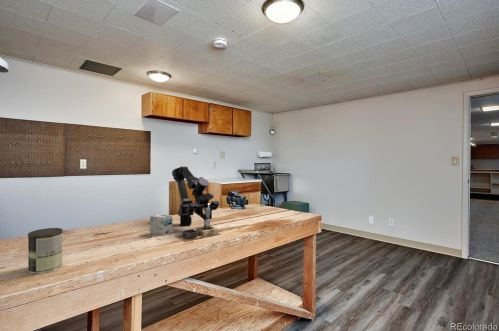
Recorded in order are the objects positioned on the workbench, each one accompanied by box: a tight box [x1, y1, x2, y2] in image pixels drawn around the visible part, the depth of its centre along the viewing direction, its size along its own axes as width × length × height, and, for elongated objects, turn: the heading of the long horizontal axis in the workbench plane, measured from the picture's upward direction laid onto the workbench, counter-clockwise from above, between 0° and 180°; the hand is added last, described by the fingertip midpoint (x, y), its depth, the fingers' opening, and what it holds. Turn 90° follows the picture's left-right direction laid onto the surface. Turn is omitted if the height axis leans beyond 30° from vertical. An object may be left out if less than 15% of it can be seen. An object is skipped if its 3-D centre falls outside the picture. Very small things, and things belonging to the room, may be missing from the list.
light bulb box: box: [149, 213, 173, 236], centre depth 142 cm, size 11×7×11 cm, turn 65°
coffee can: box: [27, 227, 64, 275], centre depth 97 cm, size 10×10×14 cm
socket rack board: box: [174, 225, 223, 243], centre depth 138 cm, size 22×12×4 cm, turn 130°
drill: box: [203, 207, 211, 230], centre depth 141 cm, size 3×3×12 cm
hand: (208, 219), depth 140 cm, fingers closed on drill, 3 cm apart
